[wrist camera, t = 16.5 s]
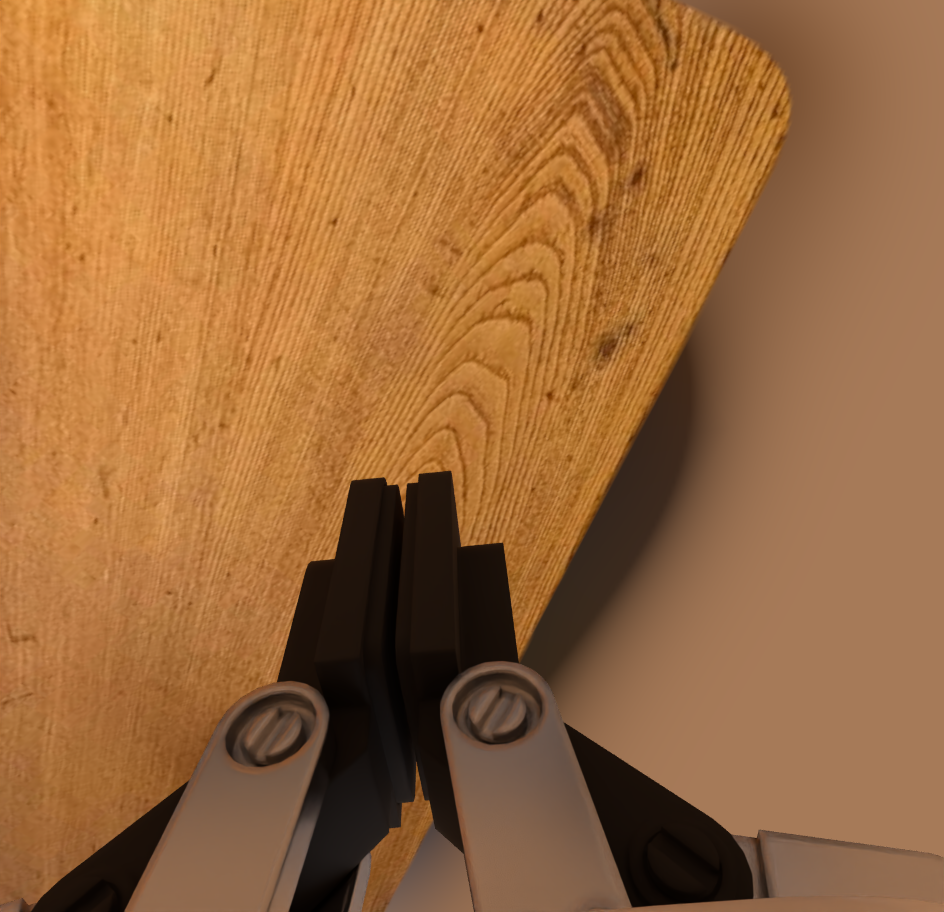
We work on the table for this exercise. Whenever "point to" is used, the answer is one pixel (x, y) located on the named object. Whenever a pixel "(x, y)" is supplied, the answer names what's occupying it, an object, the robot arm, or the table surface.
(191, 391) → the table surface
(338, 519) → the table surface
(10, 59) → the table surface
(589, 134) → the table surface
